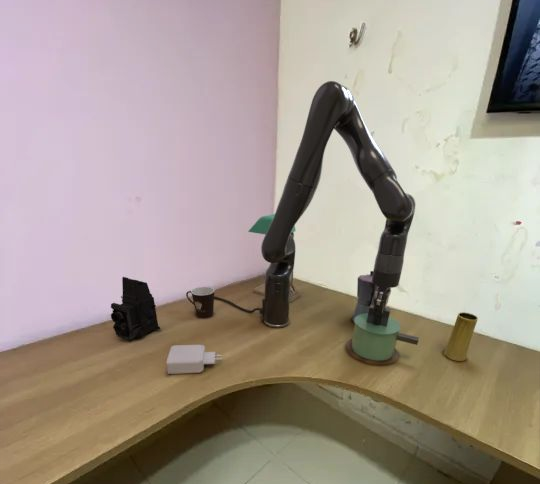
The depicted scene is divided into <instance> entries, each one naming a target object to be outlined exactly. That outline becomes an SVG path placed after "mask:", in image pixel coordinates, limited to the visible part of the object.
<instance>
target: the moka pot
mask: <svg viewBox="0 0 540 484" xmlns="http://www.w3.org/2000/svg"><path fill="white" fill-rule="evenodd" d="M369 272H370V273H369V274H361V275H359V276H357V284H356V285H357V292H356V294H357V295H356V297H357V302H356V305H355V308H354V311H353V313H352V314H353V315H352V318H351V319H352V322H353V323H354V319H355V317H356V316H358V315H360V314H364V313H368V312H369V307H370V305H374V299H375V291H376V290H377V288H378V286H377V285H375V284H373V283H372V276H373V270H370V271H369Z"/></svg>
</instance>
